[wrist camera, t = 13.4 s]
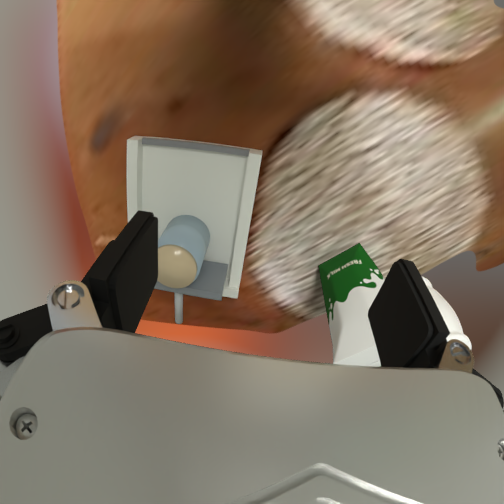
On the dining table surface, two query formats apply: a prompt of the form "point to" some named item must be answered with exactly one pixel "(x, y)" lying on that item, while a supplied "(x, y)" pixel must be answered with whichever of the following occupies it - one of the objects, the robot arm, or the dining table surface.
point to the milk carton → (351, 305)
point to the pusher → (200, 286)
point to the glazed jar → (182, 251)
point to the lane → (197, 192)
